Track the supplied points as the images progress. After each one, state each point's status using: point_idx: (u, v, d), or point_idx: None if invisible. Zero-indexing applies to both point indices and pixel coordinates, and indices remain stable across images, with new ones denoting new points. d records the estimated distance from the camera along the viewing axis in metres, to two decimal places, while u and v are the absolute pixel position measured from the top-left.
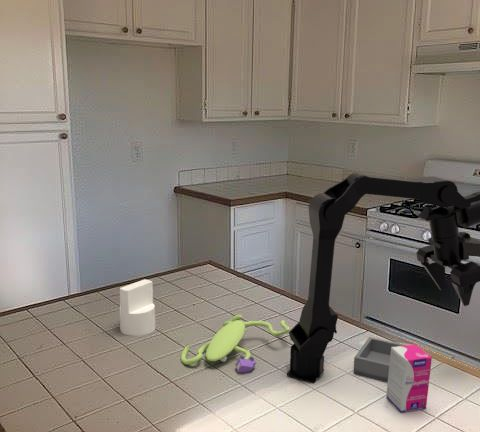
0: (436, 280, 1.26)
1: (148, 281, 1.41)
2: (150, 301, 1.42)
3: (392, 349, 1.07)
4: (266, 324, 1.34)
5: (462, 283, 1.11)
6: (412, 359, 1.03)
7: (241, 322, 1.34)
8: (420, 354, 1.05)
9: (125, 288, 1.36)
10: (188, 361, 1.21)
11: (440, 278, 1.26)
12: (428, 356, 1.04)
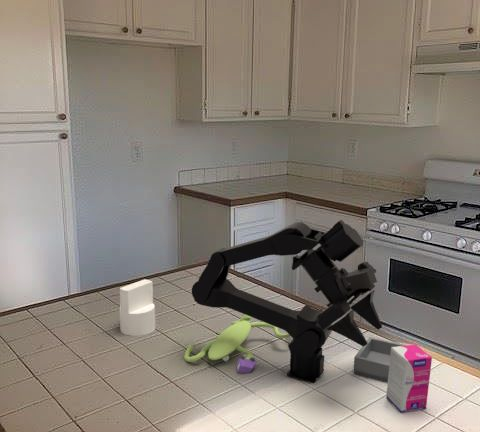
0: (366, 319, 1.14)
1: (148, 281, 1.41)
2: (150, 301, 1.42)
3: (392, 349, 1.07)
4: (272, 326, 1.33)
5: (321, 327, 1.05)
6: (412, 359, 1.03)
7: (248, 322, 1.33)
8: (420, 354, 1.05)
9: (125, 288, 1.36)
10: (190, 358, 1.23)
11: (370, 316, 1.14)
12: (428, 356, 1.04)
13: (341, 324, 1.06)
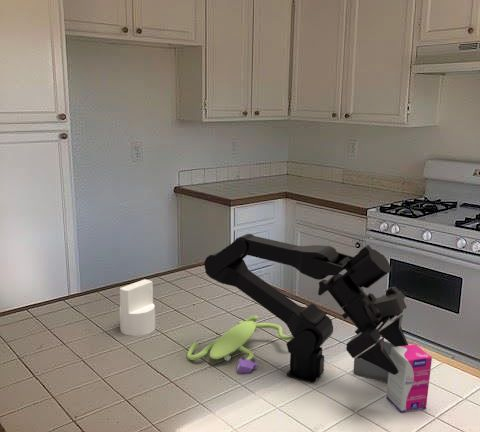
0: (395, 345, 1.12)
1: (148, 281, 1.41)
2: (150, 301, 1.42)
3: (392, 349, 1.07)
4: (277, 327, 1.32)
5: (351, 355, 1.02)
6: (412, 359, 1.03)
7: (253, 323, 1.33)
8: (420, 354, 1.05)
9: (125, 288, 1.36)
10: (192, 356, 1.23)
11: (398, 342, 1.12)
12: (428, 356, 1.04)
13: (371, 352, 1.04)
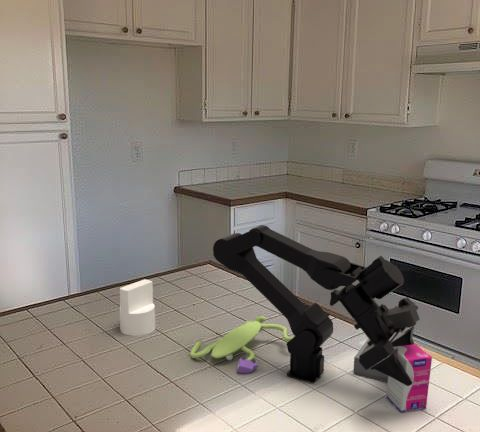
0: None
1: (148, 281, 1.41)
2: (150, 301, 1.42)
3: None
4: (282, 328, 1.31)
5: (364, 367, 1.01)
6: (412, 359, 1.03)
7: (258, 323, 1.33)
8: (420, 354, 1.05)
9: (125, 288, 1.36)
10: (194, 355, 1.24)
11: None
12: (428, 356, 1.04)
13: (384, 363, 1.03)
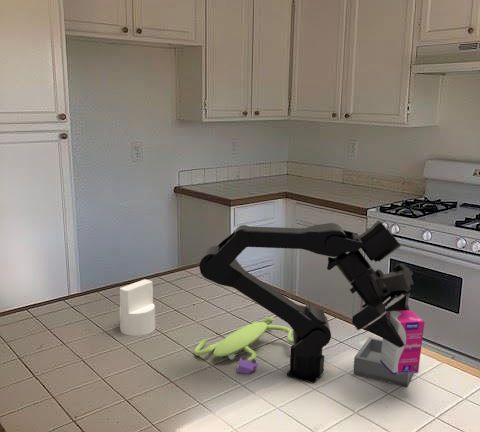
0: None
1: (148, 281, 1.41)
2: (150, 301, 1.42)
3: None
4: (288, 330, 1.30)
5: (356, 328, 1.05)
6: (405, 321, 1.06)
7: (264, 324, 1.33)
8: (414, 318, 1.07)
9: (125, 288, 1.36)
10: (196, 352, 1.25)
11: None
12: (421, 320, 1.07)
13: (377, 325, 1.06)
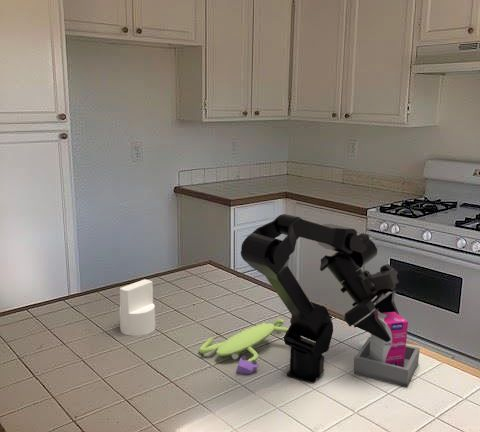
0: None
1: (148, 281, 1.41)
2: (150, 301, 1.42)
3: None
4: None
5: (348, 324, 1.14)
6: (391, 322, 1.16)
7: (271, 326, 1.32)
8: (398, 319, 1.18)
9: (125, 288, 1.36)
10: (201, 350, 1.27)
11: None
12: (405, 320, 1.17)
13: (366, 322, 1.16)
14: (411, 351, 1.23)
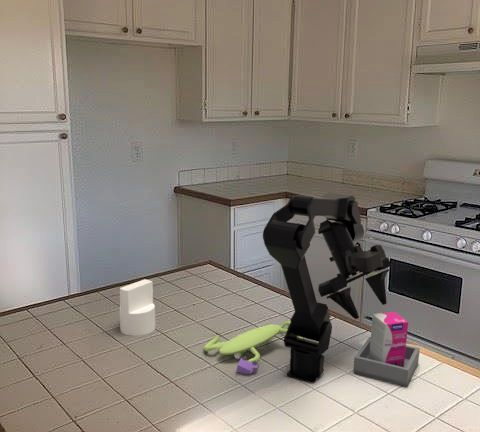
0: (375, 293, 1.25)
1: (148, 281, 1.41)
2: (150, 301, 1.42)
3: (373, 316, 1.20)
4: (299, 336, 1.27)
5: (320, 294, 1.20)
6: (391, 323, 1.16)
7: (277, 327, 1.31)
8: (398, 319, 1.18)
9: (125, 288, 1.36)
10: (204, 348, 1.28)
11: (378, 291, 1.24)
12: (405, 321, 1.17)
13: (339, 296, 1.20)
14: (411, 351, 1.23)
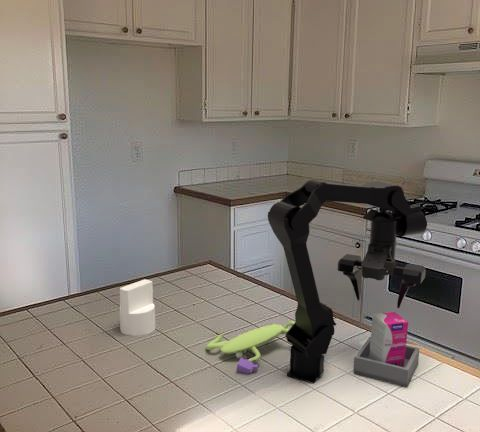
0: None
1: (148, 281, 1.41)
2: (150, 301, 1.42)
3: (373, 315, 1.20)
4: None
5: None
6: (391, 323, 1.16)
7: (280, 327, 1.31)
8: (398, 319, 1.18)
9: (125, 288, 1.36)
10: (207, 346, 1.29)
11: None
12: (405, 321, 1.17)
13: None
14: (411, 351, 1.23)
